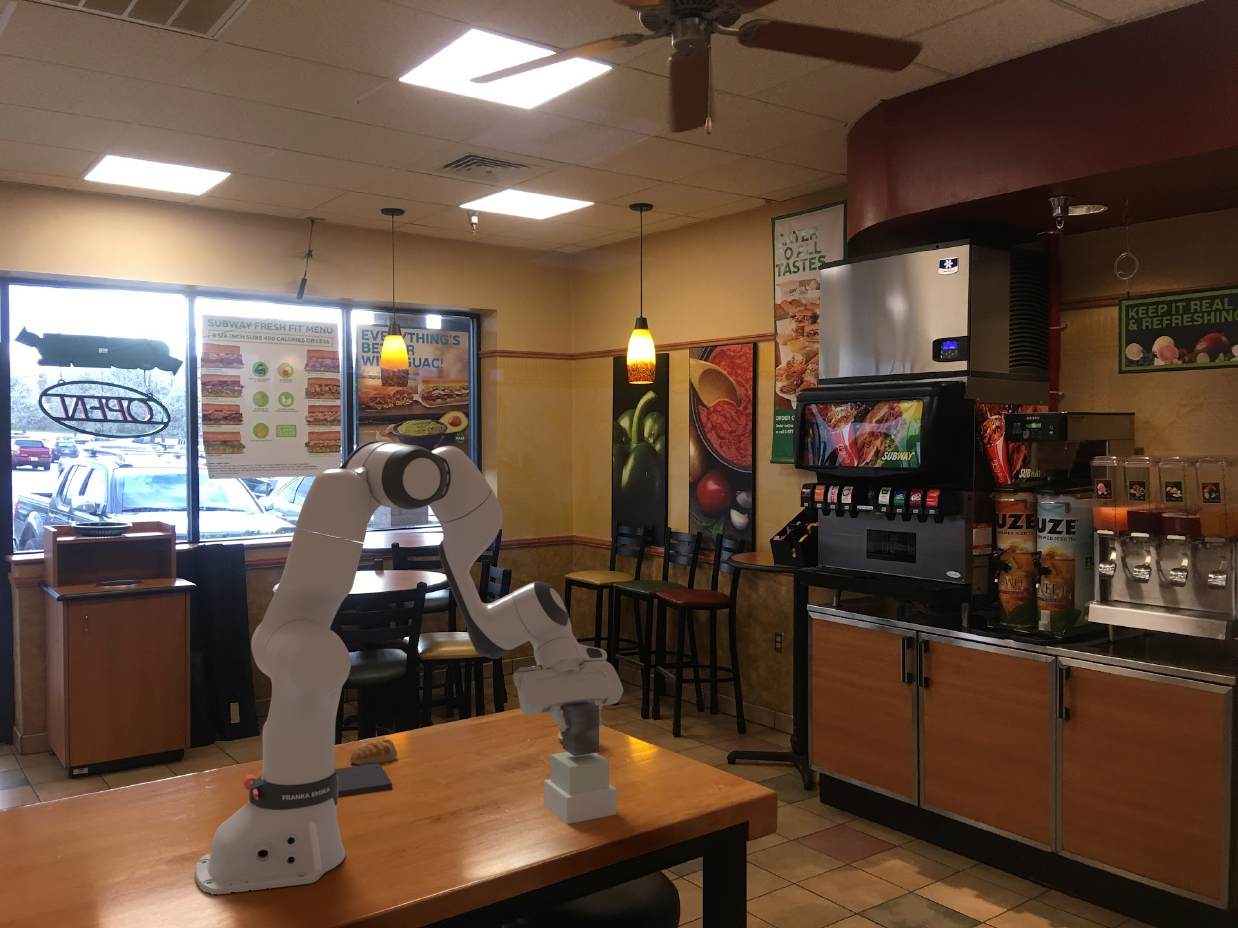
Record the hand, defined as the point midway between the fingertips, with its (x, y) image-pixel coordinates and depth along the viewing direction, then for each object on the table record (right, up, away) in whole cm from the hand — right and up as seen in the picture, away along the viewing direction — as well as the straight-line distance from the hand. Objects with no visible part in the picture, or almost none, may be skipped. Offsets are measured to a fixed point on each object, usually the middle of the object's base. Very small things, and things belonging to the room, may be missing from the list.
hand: (582, 727), depth 179 cm
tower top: (-1, -11, +1) cm, 11 cm away
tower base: (-1, -16, +1) cm, 16 cm away
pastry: (-45, -15, +28) cm, 55 cm away
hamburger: (-4, -14, +41) cm, 44 cm away
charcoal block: (0, -4, +1) cm, 4 cm away
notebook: (-50, -15, +12) cm, 53 cm away
